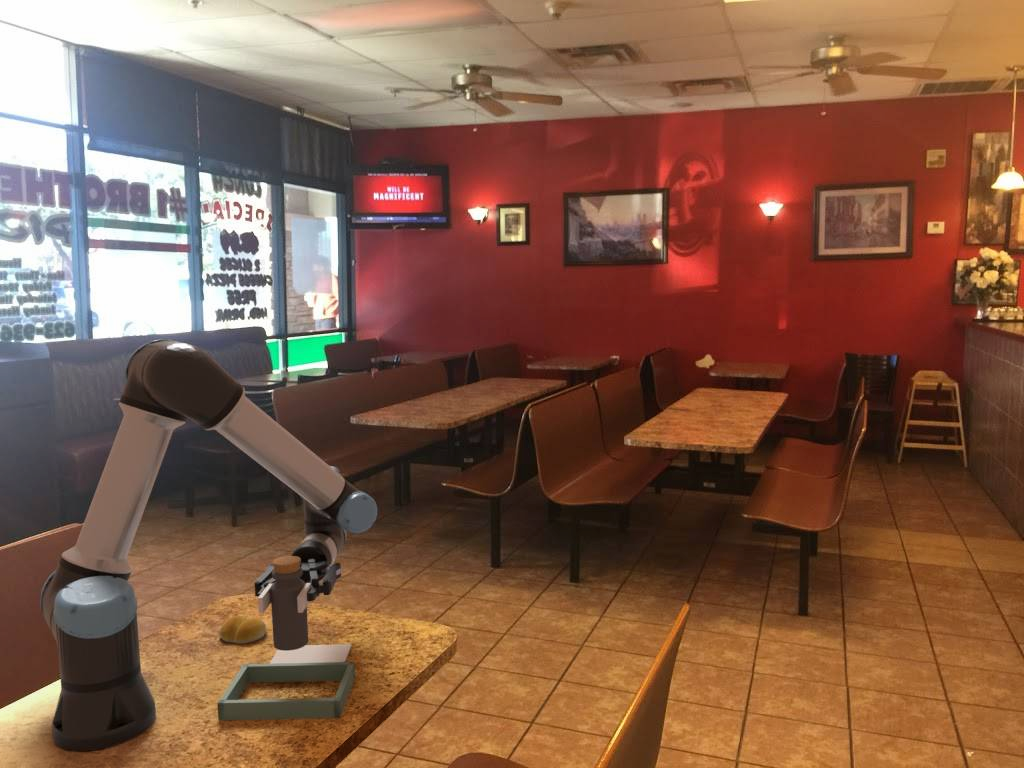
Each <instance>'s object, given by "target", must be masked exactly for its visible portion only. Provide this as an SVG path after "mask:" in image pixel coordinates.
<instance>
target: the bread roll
mask: <svg viewBox="0 0 1024 768" xmlns="http://www.w3.org/2000/svg"><path fill="white" fill-rule="evenodd" d="M266 630H267V625H266V623H265V621H263V620H262V619H261V618H257V617H251V618H248V617H247V616H244V615H234V616H232V617H230V618H228V619H227V620H226V621H224V623H222V625H221V626H220V627H219V630H218V634H219V636H220V638H221V639H222V640H223V641H224V642H226V643H233V644H234V643H235V644H238V645H239V644H241V645H243V644H244V645H245V644H249V643H252V642H254V641H255V642H256V641H258V640H260V639H262V638H263V637H264V636H265V634H266Z"/></svg>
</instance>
